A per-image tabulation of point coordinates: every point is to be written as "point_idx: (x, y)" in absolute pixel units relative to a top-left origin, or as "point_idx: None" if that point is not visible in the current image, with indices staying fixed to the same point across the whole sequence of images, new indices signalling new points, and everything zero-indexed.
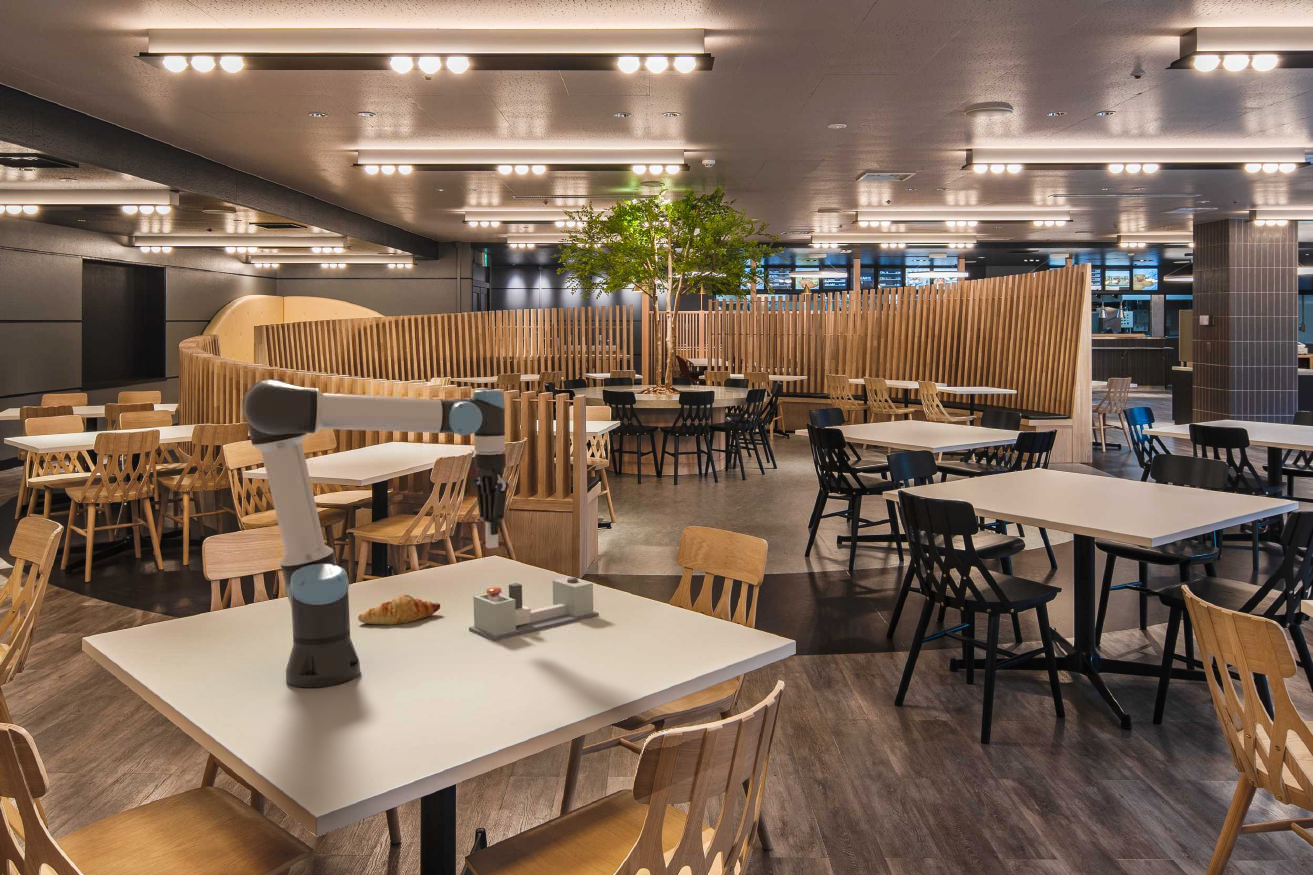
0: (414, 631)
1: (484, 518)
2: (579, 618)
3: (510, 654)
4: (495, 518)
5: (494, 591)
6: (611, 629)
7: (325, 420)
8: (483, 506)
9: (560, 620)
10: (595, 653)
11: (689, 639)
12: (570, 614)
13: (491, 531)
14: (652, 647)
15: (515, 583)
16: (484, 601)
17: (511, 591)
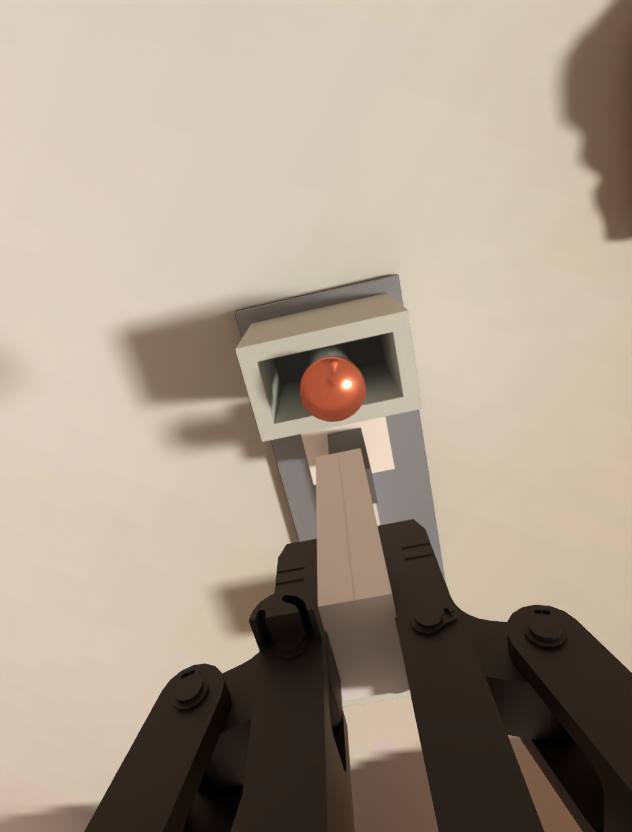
0: (507, 72)
1: (413, 618)
2: None
3: (81, 314)
4: (161, 701)
5: (300, 383)
6: (195, 614)
7: None
8: (517, 799)
9: (310, 539)
10: (10, 515)
11: (46, 709)
12: None
13: (312, 559)
14: (14, 633)
15: (373, 496)
16: (313, 330)
17: None
